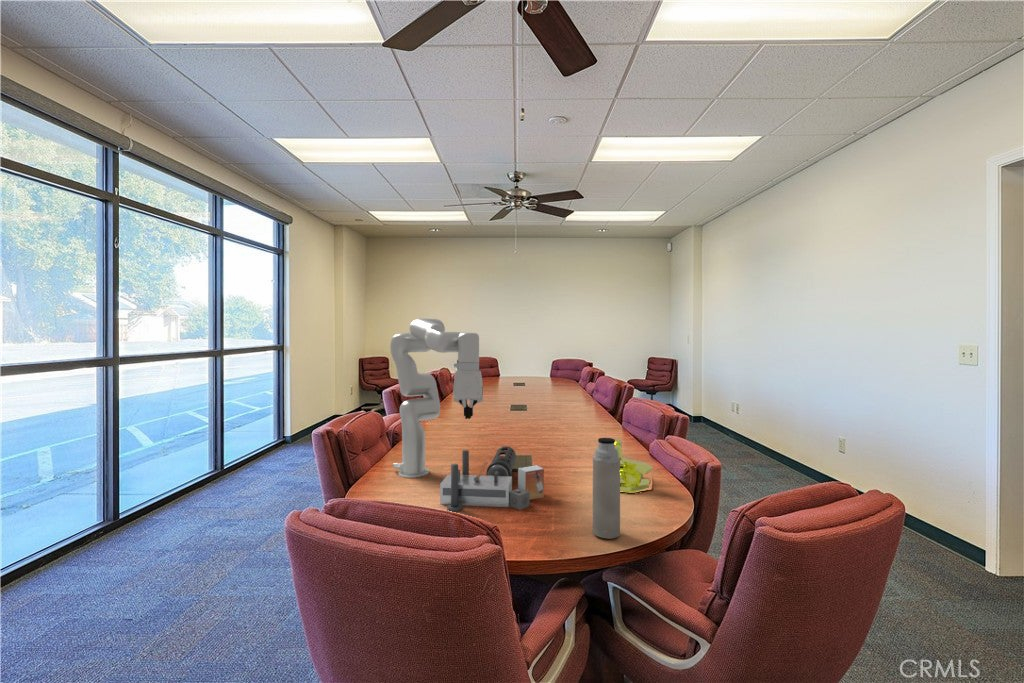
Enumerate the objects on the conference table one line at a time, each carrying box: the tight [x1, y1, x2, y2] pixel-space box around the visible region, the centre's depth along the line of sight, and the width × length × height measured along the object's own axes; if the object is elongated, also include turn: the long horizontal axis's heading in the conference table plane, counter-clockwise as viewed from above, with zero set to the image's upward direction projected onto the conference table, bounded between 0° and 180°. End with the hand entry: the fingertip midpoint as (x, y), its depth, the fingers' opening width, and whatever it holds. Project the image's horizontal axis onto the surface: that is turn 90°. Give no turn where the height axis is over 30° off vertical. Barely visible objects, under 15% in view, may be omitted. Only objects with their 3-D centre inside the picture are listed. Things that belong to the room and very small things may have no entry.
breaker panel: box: [439, 469, 513, 508], centre depth 156 cm, size 24×11×10 cm, turn 84°
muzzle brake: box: [485, 445, 517, 477], centre depth 180 cm, size 10×28×10 cm, turn 174°
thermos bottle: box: [592, 437, 621, 539], centre depth 130 cm, size 8×8×28 cm
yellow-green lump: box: [614, 438, 654, 493], centre depth 175 cm, size 18×25×16 cm
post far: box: [461, 449, 470, 475], centre depth 166 cm, size 5×5×15 cm
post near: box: [446, 463, 463, 513], centre depth 148 cm, size 5×5×15 cm
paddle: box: [474, 457, 490, 482], centre depth 156 cm, size 2×4×8 cm
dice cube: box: [509, 487, 530, 511], centre depth 151 cm, size 5×5×5 cm
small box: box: [517, 464, 545, 501], centre depth 159 cm, size 8×6×10 cm
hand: (468, 418), depth 157 cm, fingers closed
